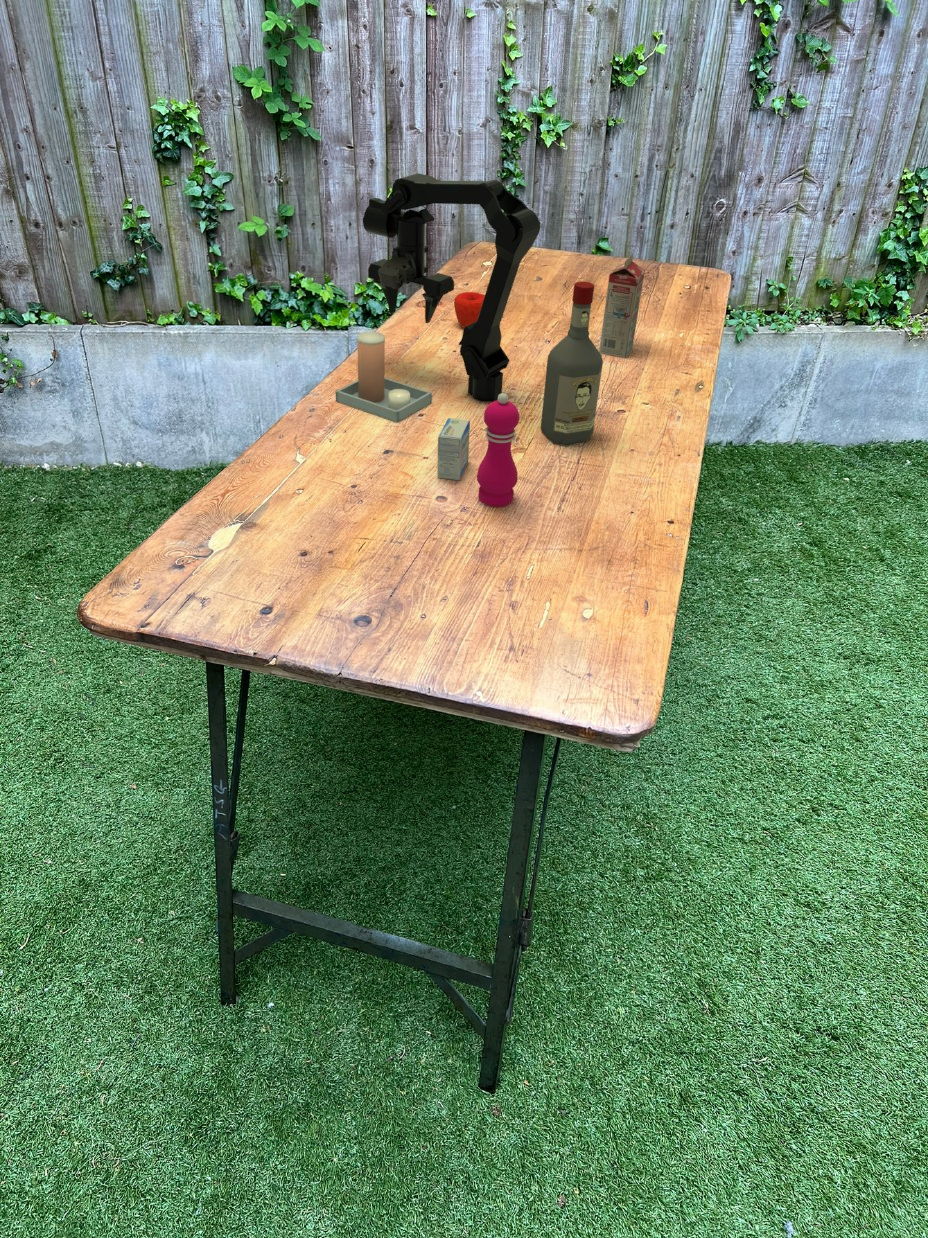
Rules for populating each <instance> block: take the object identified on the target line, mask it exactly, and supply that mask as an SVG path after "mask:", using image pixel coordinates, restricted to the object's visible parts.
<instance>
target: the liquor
mask: <svg viewBox="0 0 928 1238" xmlns="http://www.w3.org/2000/svg"><path fill="white" fill-rule="evenodd" d="M594 291H595V284H594V283H592V282H589V281H576V282H574V284H573V293H572V308H571V314H570V315H571V316H570V324H569V329H568V331H567V335H566V336H565V337H563V338H562V339H561V340H560V341H559V342H558V343H557V344H556V345H554V347H552V348H551V350H550V351H549V354H548V356H547V361H546V362H547V364H546V373H545V382H544V391H543V399H542V400H543V402H542V411H541V422H540V430H541V432H542V434H543V435H544V436H545V437H546V438H547V439H548V440H549V441H551V442H552V444H555V445H559V446H565V447H566V446H574V445H579V444H584V443H588V442H589V440H590V439H591V437H592V436H593V434H594V429H595V428H594V426H595V422H596V421H595V420H596V416H597V415H596V414H597V406H598V400H599V399H598V398H599V393H600V385H601V378H602V372H603V363H604V361H603V356H602V355H603V354H600V352H599V349H598V348H597V347H596V346H595V343H593V341H592V340H591V339H590V337H589V336H590V331H589V325H590V317H591V310H592V309H591V308H592V304H593V301H594V300H593V299H594V294H595V293H594Z"/></svg>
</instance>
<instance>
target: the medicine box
mask: <svg viewBox="0 0 928 1238" xmlns="http://www.w3.org/2000/svg"><path fill="white" fill-rule="evenodd" d="M470 427H471V421H470V420H467V419H459V418H449V417H448V418H447V419H446V422H445V424H444V425H443V427H442V429H441V431H440V433H439V434H438V436H437V467H436V469H437V472H436V473H437V476H436V477H437V478H439V479H445V480H451V481H452V480H454V481H460V480H461V479H462V477H463V475H464V473H465V470H466V468H467V465H468V463H469V458H470V457H469V453H470V451H469V450H470V434H471V433H470V432H471V431H470V429H471V428H470Z"/></svg>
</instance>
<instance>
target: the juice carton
mask: <svg viewBox="0 0 928 1238" xmlns="http://www.w3.org/2000/svg"><path fill="white" fill-rule="evenodd" d="M633 256H634V253H631V254H630V255H629V257H627V259H626V260H625V261H624V263H621V264H619V265H617V266H615V268H614V269H613V270H612V271H611V272H610V273H609V277H608V283H607V290H606V298H605V306H604V312H603V313H604V314H603V319H602V326H601V333H600V341H599V349H598V351H599V352H600V354H601V355H605V356H610V357H611V356H612V357H615V358H622V359H627V357H628V356H629V354H630V353H631V352H632V350H633V347H634V341H635V336H636V335H635V334H636V329H637V323H638V322H637V321H638V315H639V310H640V303H641V298H642V297H641V296H642V290H643V285H644V278H645V270H644V268H642V267H641V266H639V265H638V264H637V263H635V262H634V261H633V259H634V257H633Z"/></svg>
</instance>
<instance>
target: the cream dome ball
mask: <svg viewBox="0 0 928 1238" xmlns="http://www.w3.org/2000/svg"><path fill="white" fill-rule="evenodd" d="M409 403H410V392H409V391H407V390H404V389H394V390H391V391H390V392H389V408H391V409H394V410H399V409H400V408H402V407H404V406H406V405H407V404H409Z"/></svg>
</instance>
